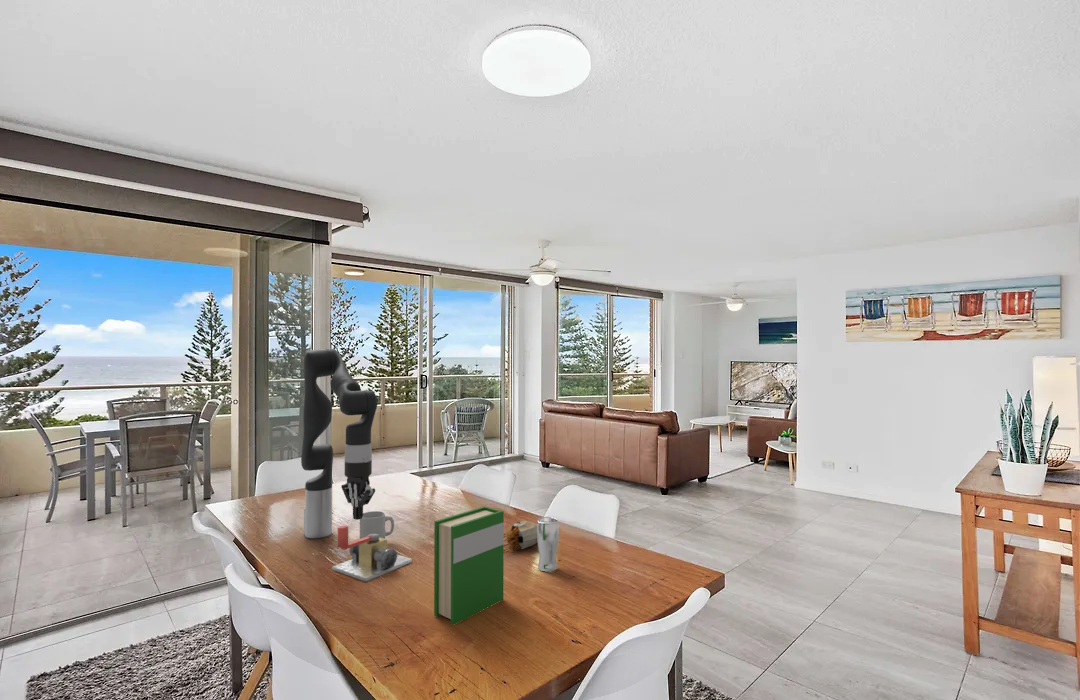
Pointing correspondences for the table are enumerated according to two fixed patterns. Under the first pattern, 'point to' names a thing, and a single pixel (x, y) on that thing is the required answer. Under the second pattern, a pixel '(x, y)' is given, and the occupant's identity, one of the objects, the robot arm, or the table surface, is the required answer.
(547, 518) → the beer glass
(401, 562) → the valve body
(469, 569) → the hardback book
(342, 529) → the lever
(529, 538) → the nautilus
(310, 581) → the table surface
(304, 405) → the robot arm
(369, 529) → the mug
